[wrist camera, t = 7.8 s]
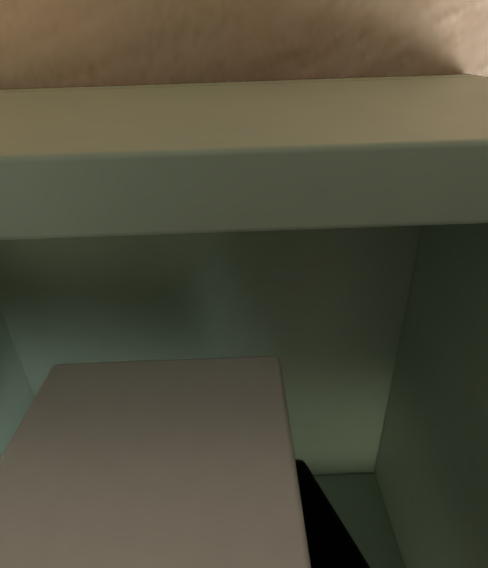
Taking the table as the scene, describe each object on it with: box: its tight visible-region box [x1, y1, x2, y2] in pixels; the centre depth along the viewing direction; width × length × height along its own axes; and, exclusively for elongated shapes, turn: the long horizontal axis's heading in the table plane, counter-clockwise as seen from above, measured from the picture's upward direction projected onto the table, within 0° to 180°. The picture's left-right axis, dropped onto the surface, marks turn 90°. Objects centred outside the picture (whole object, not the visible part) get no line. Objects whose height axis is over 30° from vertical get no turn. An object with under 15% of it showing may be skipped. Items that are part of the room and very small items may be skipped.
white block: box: [0, 356, 311, 568], centre depth 8 cm, size 4×4×4 cm
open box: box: [0, 74, 488, 568], centre depth 10 cm, size 13×14×7 cm
